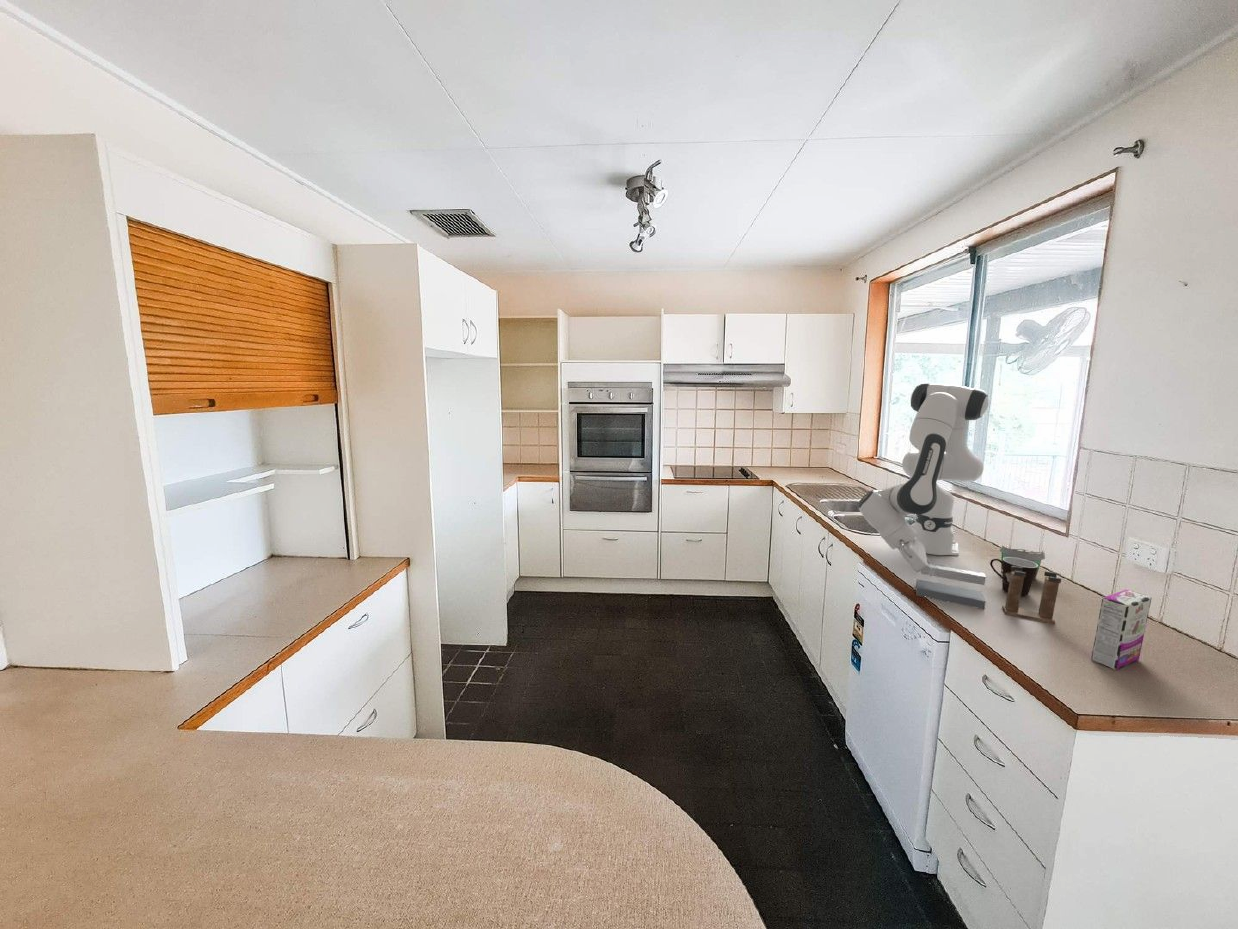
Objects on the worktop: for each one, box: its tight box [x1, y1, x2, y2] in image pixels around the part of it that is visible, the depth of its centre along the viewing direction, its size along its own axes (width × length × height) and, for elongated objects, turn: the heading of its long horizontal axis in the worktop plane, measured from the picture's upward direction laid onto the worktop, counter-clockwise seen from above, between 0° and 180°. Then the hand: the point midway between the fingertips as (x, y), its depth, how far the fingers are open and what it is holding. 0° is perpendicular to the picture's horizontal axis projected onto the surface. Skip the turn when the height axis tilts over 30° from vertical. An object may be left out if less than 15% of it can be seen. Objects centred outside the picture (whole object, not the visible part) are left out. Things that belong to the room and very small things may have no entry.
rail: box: [920, 563, 987, 586], centre depth 148 cm, size 16×3×3 cm, turn 60°
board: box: [915, 578, 986, 610], centre depth 149 cm, size 17×8×2 cm, turn 60°
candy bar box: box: [1090, 589, 1153, 671], centre depth 115 cm, size 11×5×16 cm, turn 113°
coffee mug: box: [989, 557, 1038, 598], centre depth 154 cm, size 12×9×10 cm
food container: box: [999, 544, 1046, 582], centre depth 163 cm, size 12×6×10 cm, turn 68°
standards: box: [1001, 566, 1062, 625], centre depth 137 cm, size 11×5×13 cm, turn 60°
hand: (932, 572), depth 150 cm, fingers closed on rail, 3 cm apart
